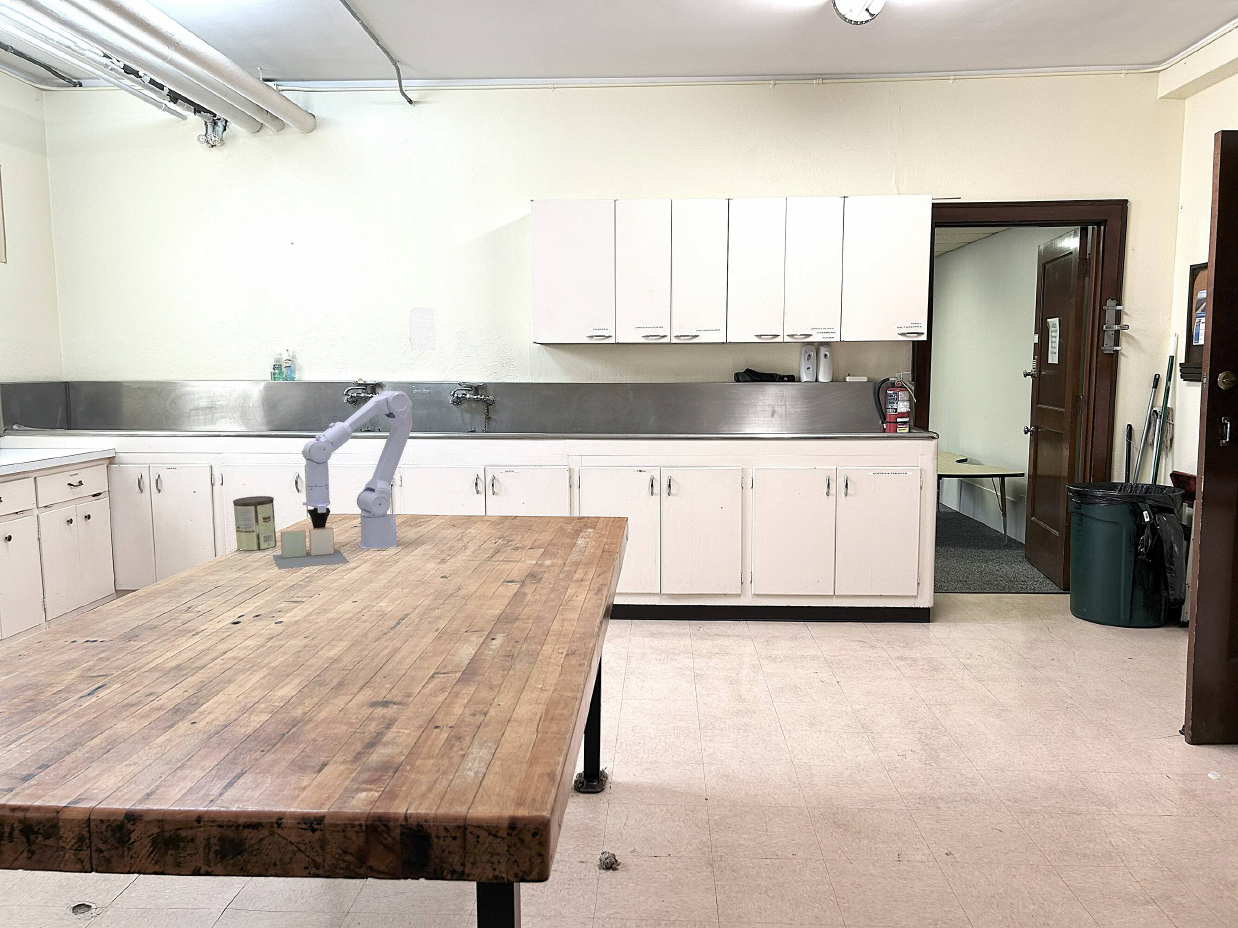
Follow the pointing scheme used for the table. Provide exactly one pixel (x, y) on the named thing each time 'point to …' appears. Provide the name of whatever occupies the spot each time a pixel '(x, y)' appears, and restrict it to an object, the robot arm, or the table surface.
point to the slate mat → (310, 560)
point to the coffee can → (255, 524)
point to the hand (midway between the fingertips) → (319, 535)
